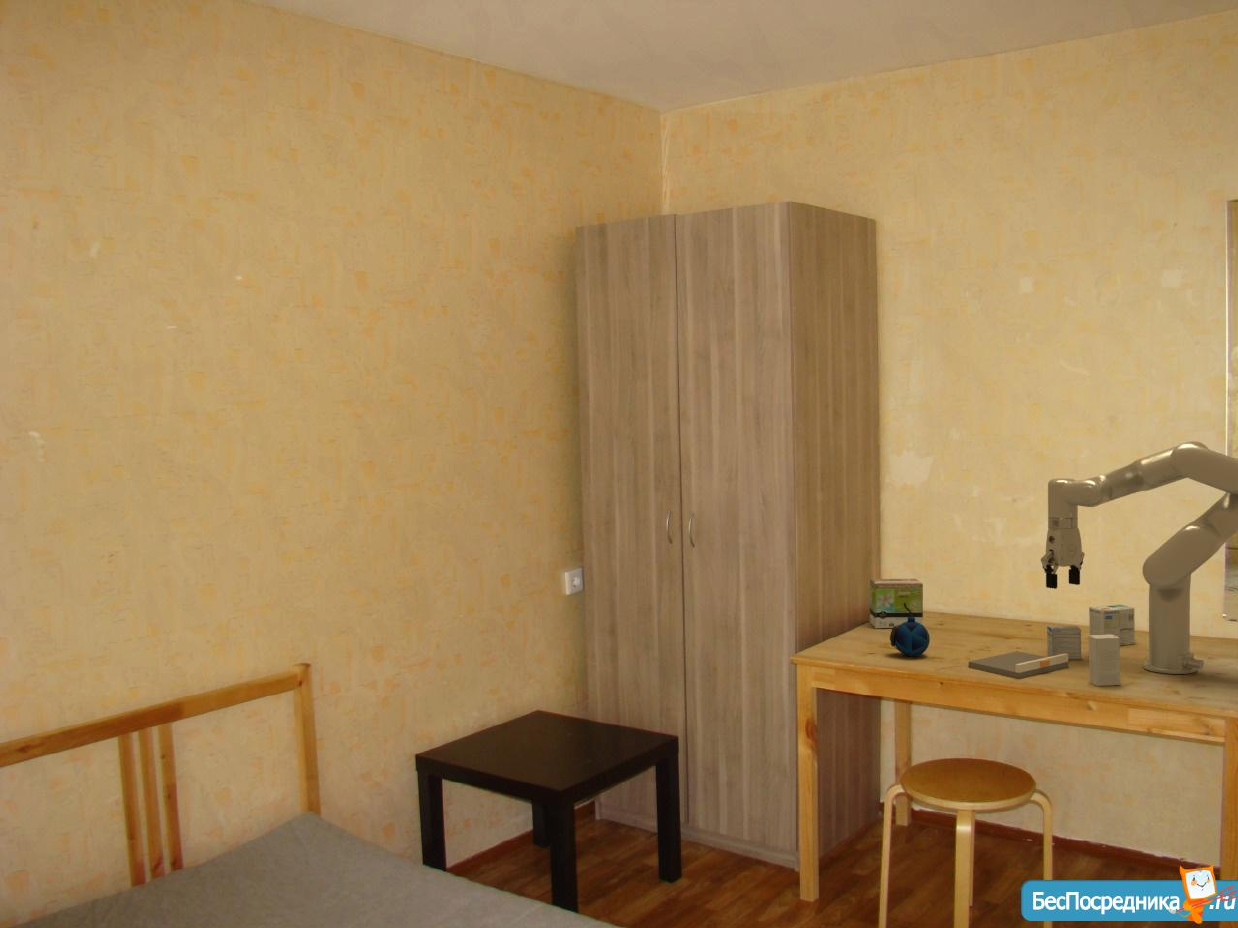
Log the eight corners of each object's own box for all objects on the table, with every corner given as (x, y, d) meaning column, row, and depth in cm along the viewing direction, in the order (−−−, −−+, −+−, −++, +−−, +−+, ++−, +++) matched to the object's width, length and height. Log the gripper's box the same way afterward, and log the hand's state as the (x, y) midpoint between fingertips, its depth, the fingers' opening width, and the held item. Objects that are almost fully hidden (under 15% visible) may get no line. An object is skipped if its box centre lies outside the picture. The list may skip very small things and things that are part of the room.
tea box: (875, 629, 342) (875, 583, 342) (869, 623, 352) (868, 578, 352) (923, 628, 342) (923, 582, 341) (916, 622, 352) (915, 577, 351)
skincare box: (1112, 681, 271) (1112, 633, 271) (1120, 685, 267) (1120, 637, 267) (1088, 682, 271) (1088, 634, 271) (1096, 686, 267) (1096, 638, 266)
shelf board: (1070, 667, 286) (1070, 654, 286) (1020, 679, 276) (1020, 665, 276) (1017, 656, 301) (1017, 643, 300) (968, 667, 290) (968, 654, 290)
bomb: (890, 651, 311) (889, 599, 311) (929, 652, 308) (928, 600, 308) (889, 659, 302) (888, 605, 301) (930, 660, 299) (929, 606, 298)
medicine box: (1076, 656, 299) (1076, 625, 299) (1081, 660, 295) (1081, 628, 294) (1047, 656, 300) (1046, 625, 299) (1051, 660, 295) (1051, 628, 295)
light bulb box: (1119, 639, 318) (1119, 603, 317) (1135, 644, 311) (1135, 607, 311) (1088, 642, 315) (1088, 606, 315) (1104, 647, 309) (1104, 610, 308)
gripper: (1054, 527, 288) (1054, 591, 289) (1094, 522, 297) (1095, 584, 298) (1030, 525, 294) (1030, 587, 295) (1070, 520, 303) (1071, 581, 304)
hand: (1063, 586), depth 296 cm, fingers open, 9 cm apart
